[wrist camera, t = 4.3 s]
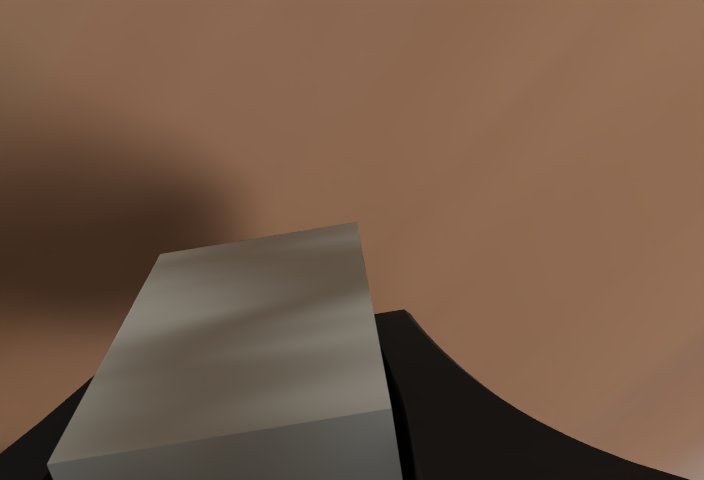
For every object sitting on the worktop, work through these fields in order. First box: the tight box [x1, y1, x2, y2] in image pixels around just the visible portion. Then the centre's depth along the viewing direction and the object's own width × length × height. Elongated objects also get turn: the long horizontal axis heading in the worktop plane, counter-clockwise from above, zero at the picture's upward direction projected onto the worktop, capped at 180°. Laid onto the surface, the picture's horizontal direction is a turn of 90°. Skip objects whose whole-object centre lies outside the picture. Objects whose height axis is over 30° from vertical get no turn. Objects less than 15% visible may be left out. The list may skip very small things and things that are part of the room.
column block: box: [47, 222, 403, 480], centre depth 11 cm, size 4×4×6 cm
